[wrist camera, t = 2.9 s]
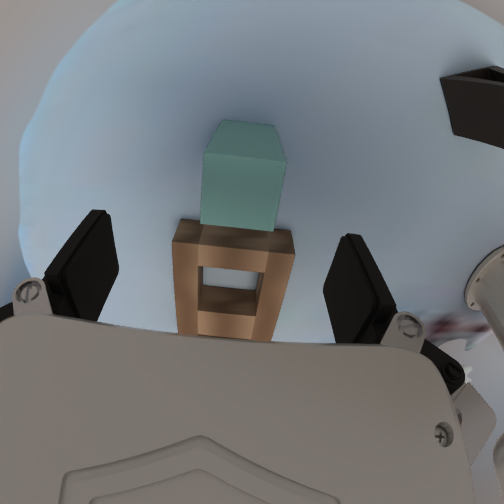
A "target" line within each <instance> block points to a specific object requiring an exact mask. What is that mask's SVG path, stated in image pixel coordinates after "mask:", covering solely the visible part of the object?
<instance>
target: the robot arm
mask: <svg viewBox="0 0 504 504" xmlns="http://www.w3.org/2000/svg"><path fill="white" fill-rule="evenodd" d="M118 272H119V264H118V259H117V254H116V248H115V242H114V236H113V230H112V223H111V217H110V215H109V214H107V212H106V211H105V210H91V211H90V212H89V214H88V215H87V216H86V217H85V219H84V220H83V221H82V222H81V224H80V225H79V226H78V227H77V229H76V230H75V231H74V232H73V234H72V235H71V236H70V238H69V239H68V240H67V242H66V243H65V244H64V246H63V247H62V248H61V250H60V251H59V252H58V254H57V255H56V257H55V258H54V259H53V261H52V262H51V264H50V265H49V267H48V268H47V270H46V271H45V273H44V274H45V276H44V278H43V279H42V280H41V279H39V278H29V279H26V280H24V281H22V282H21V283H20V284H18V285H17V287H16V288H15V289H14V292H13V294H12V301H13V302H11V303H9V304H7V305H5V306H3V307H1V308H0V504H475V497H474V489H473V482H472V475H471V469H470V466H471V465H472V463H473V462H474V460H475V459H476V457H477V456H478V454H479V453H480V451H481V450H482V448H483V447H484V445H485V443H486V442H487V440H488V439H489V437H490V435H491V433H492V432H493V430H494V428H495V425H496V416H495V413H494V411H493V410H492V408H491V407H490V406H489V405H488V403H486V401H485V400H484V399H483V398H482V397H481V395H480V394H479V393H478V392H477V391H476V389H475V388H474V387H473V386H472V385H471V384H470V382H468V383H467V384H466V383H465V382H464V381H465V373H464V370H463V368H462V366H461V365H460V364H459V363H458V362H457V361H456V360H455V359H453V358H452V357H450V356H449V355H448V354H446V353H445V352H443V351H442V350H440V349H439V348H438V347H436V346H435V345H433V344H432V343H430V342H429V341H427V340H426V339H425V336H426V329H425V326H424V324H423V322H422V321H421V320H420V319H419V318H418V317H417V316H415V315H414V314H412V313H409V312H405V311H403V312H398V311H397V309H396V304H395V301H394V299H393V297H392V295H391V293H390V291H389V289H388V287H387V285H386V283H385V281H384V278H383V276H382V274H381V272H380V270H379V268H378V266H377V265H376V263H375V261H374V259H373V257H372V255H371V253H370V251H369V249H368V247H367V245H366V244H365V242H364V240H363V238H362V236H361V235H358V234H350V233H347V234H346V235H345V236H342V237H341V239H340V242H339V245H338V248H337V250H336V253H335V256H334V259H333V262H332V264H331V267H330V270H329V272H328V275H327V278H326V280H325V283H324V286H323V294H324V298H325V302H326V305H327V309H328V313H329V317H330V321H331V325H332V329H333V333H334V337H335V341H336V343H300V342H275V341H257V340H242V339H229V338H217V337H206V336H196V335H187V334H178V333H170V332H162V331H154V330H147V329H140V328H133V327H126V326H120V325H114V324H108V323H102V322H97V320H98V318H99V316H100V313H101V311H102V308H103V306H104V304H105V302H106V299H107V297H108V295H109V293H110V290H111V288H112V286H113V284H114V282H115V280H116V277H117V275H118ZM465 301H466V304H467V305H468V307H469V308H470V309H472V310H475V311H479V310H482V312H483V314H484V315H485V317H486V319H487V321H488V322H489V324H490V326H491V328H492V330H493V331H494V333H495V335H496V337H497V339H498V341H499V342H500V344H501V346H502V348H503V350H504V247H501V248H499V249H497V250H496V251H494V252H493V253H491V254H490V255H489V256H488V257H487V258H486V259H485V260H484V261H483V262H482V263H481V264H480V265H479V266H478V268H477V269H476V270H475V272H474V273H473V275H472V276H471V278H470V280H469V282H468V284H467V287H466V290H465ZM493 462H494V468H495V474H496V478H497V481H498V485H499V490H500V494H501V498H502V503H503V504H504V433H503V434H502V435H501V436H500V437H499V439H498V440H497V442H496V444H495V447H494V450H493Z"/></svg>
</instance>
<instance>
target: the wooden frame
mask: <svg viewBox="0 0 504 504" xmlns="http://www.w3.org/2000/svg"><path fill="white" fill-rule="evenodd" d="M172 257H173V276H174V291H175V304H176V316H177V327H178V334H187V335H196V336H206V337H217V338H229V339H242V340H257V341H271V339H272V336H273V332H274V329H275V326H276V322H277V319H278V315H279V312H280V309H281V305H282V302H283V298H284V294H285V291H286V287H287V284H288V280H289V277H290V273H291V269H292V266H293V262H294V258H295V250H294V245H293V240H292V234H291V231H288V230H279V229H274V231H273V232H272V231H263V230H254V229H245V228H236V227H227V226H217V225H207V224H200V221H197V220H187V219H181V220H180V223H179V225H178V228H177V230H176V233H175V235H174V238H173V240H172ZM203 266H205V267H214V268H224V269H233V270H243V271H253V272H259V275H258V280H257V286H256V291H253V290H243V289H233V288H223V287H214V286H205V285H203Z"/></svg>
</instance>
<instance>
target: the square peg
mask: <svg viewBox="0 0 504 504" xmlns="http://www.w3.org/2000/svg"><path fill="white" fill-rule="evenodd" d="M286 164H287V162H286V159H285V155H284V152H283V149H282V146H281V143H280V140H279V137H278V134H277V131H276V129H275V126H273V125H266V124H259V123H251V122H242V121H232V120H222V121H221V123H220V125H219V127H218V128H217V130H216V132H215V134H214V135H213V137H212V139H211V141H210V143H209V144H208V146H207V148H206V150H205V152H204V157H203V173H202V190H201V211H200V224H207V225H217V226H227V227H236V228H245V229H254V230H263V231H272V232H273V231H274V226H275V221H276V216H277V211H278V206H279V201H280V196H281V190H282V185H283V180H284V175H285V169H286Z"/></svg>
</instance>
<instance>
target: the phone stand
mask: <svg viewBox="0 0 504 504" xmlns="http://www.w3.org/2000/svg"><path fill="white" fill-rule="evenodd" d="M440 79H441V83H442V86H443V90H444V93H445V97H446V101H447V105H448V109H449V113H450V118H451V122H452V127H453V132H454V135H457V136H461V137H465V138H469V139H472V140H476V141H480V142H483V143H486V144H490V145H493V146H496V147H499V148H503V149H504V69H503V68H501V67H498V66H491V67H485V68H481V69H476V70H471V71H467V72H462V73H458V74H454V75H450V76H446V77H442V78H440Z"/></svg>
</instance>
